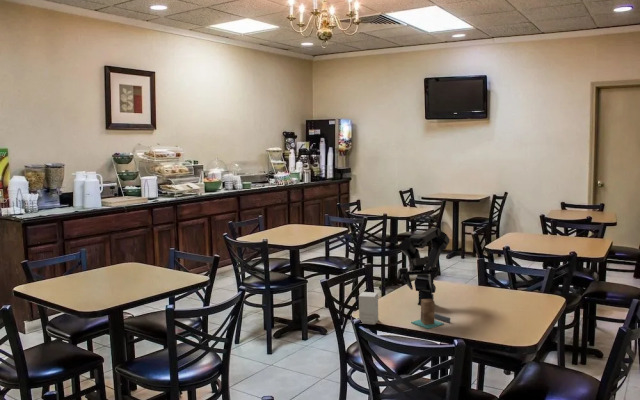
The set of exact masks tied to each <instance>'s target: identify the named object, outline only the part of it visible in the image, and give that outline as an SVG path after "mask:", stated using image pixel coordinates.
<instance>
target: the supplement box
mask: <svg viewBox="0 0 640 400" xmlns="http://www.w3.org/2000/svg"><path fill="white" fill-rule="evenodd" d="M358 317H359V318H358V319H359V320H361V322H362V323H361V324H365V325H376V324H377V322H378V321H379V293H378V292H371V291H369V292H368V291H362V292H361V293H360V294H359V295H358Z"/></svg>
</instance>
